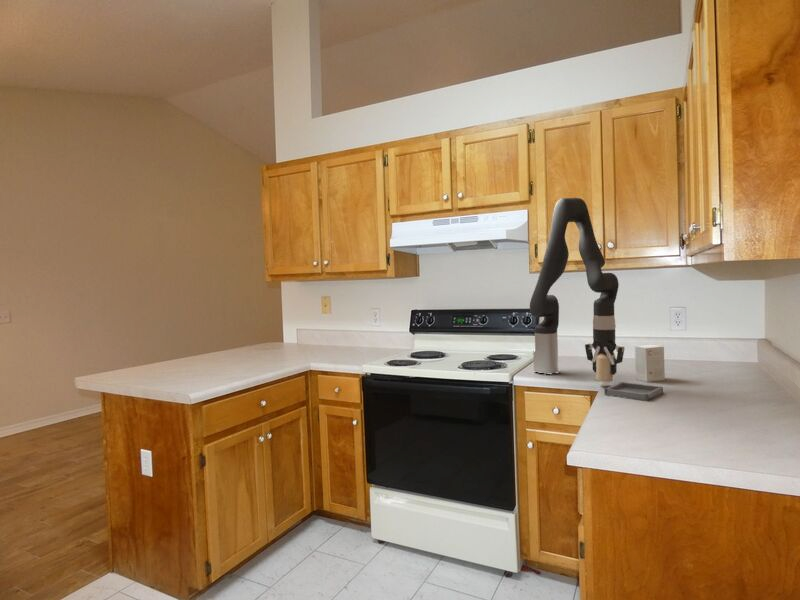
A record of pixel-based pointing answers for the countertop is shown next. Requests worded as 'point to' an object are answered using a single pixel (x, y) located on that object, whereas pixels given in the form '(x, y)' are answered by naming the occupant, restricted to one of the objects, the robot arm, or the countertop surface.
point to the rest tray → (634, 391)
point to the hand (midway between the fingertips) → (604, 373)
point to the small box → (649, 363)
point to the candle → (603, 368)
